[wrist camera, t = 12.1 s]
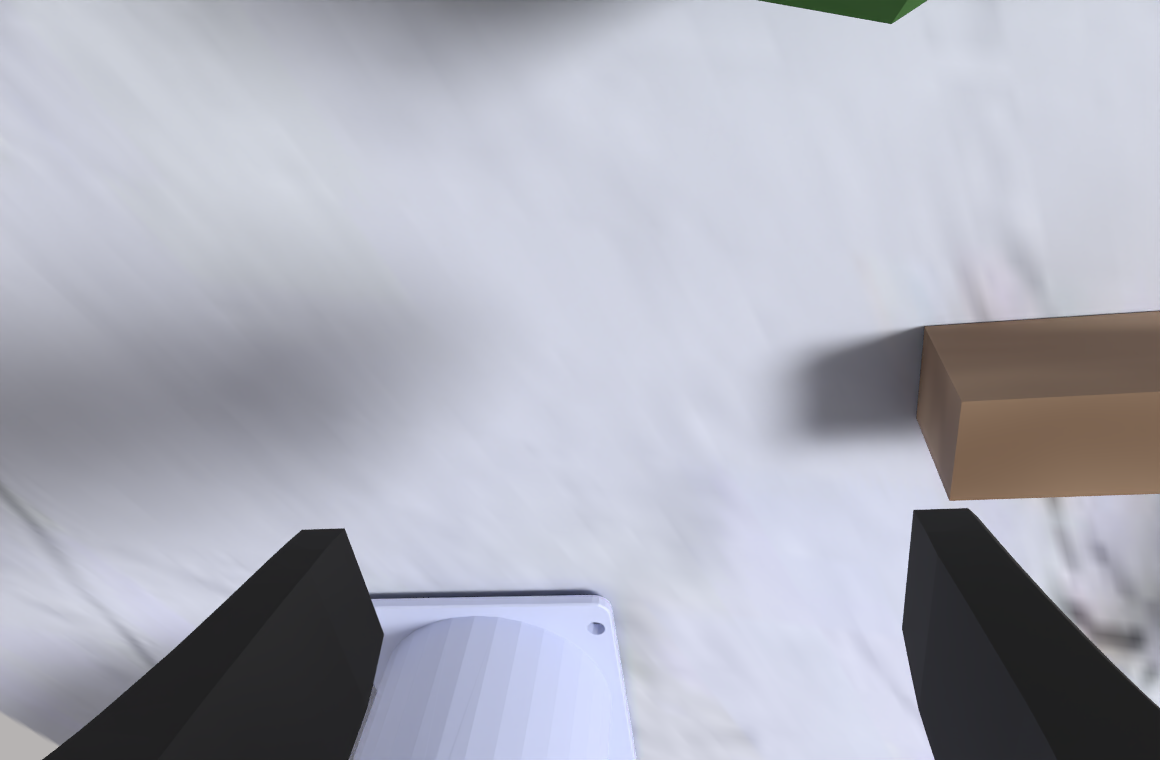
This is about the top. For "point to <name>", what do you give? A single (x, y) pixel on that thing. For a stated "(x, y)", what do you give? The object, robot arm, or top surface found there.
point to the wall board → (1043, 406)
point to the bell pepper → (858, 8)
